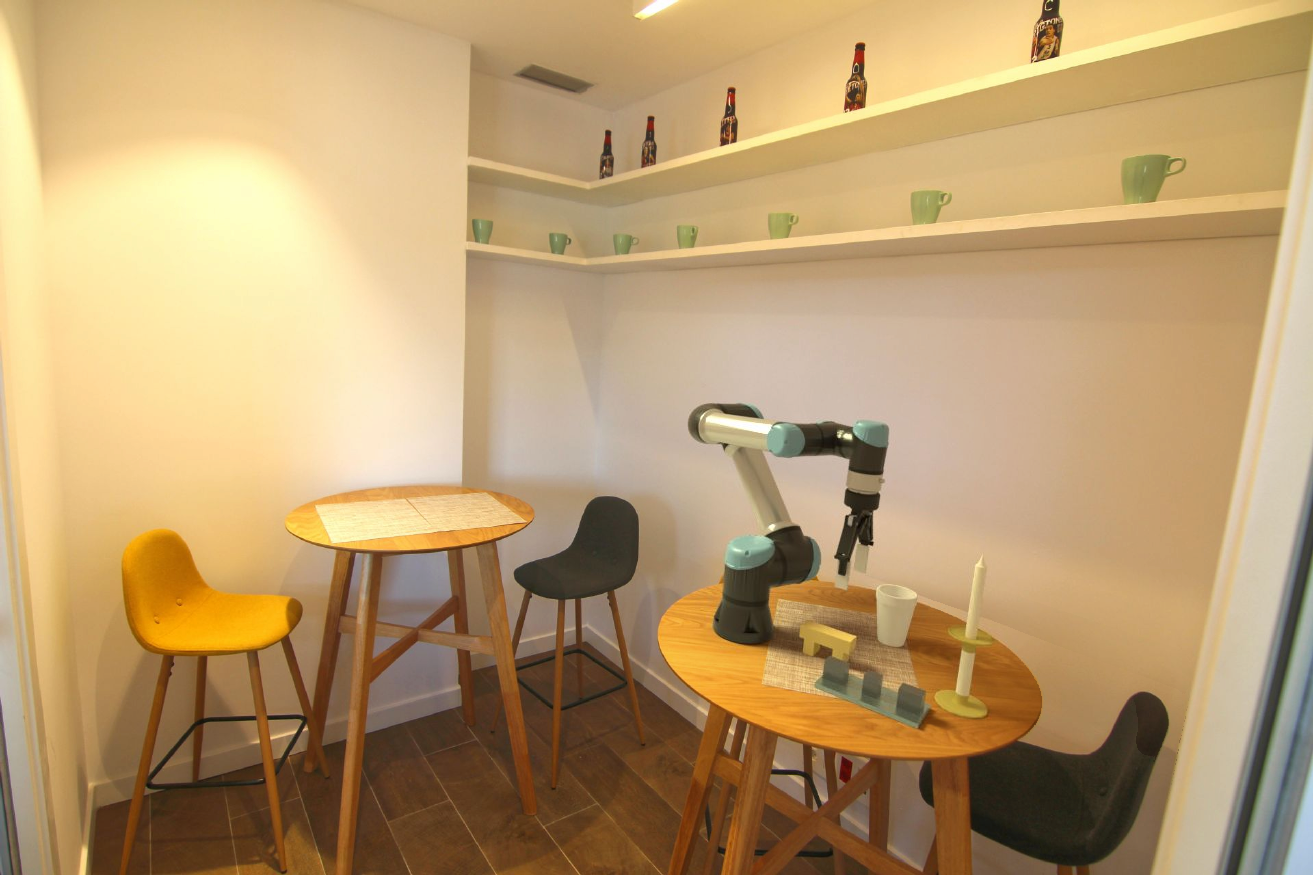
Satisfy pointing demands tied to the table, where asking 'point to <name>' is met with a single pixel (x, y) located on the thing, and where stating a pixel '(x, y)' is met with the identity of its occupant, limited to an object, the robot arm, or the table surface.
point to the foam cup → (894, 613)
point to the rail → (873, 693)
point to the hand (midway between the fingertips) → (850, 579)
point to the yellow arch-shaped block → (826, 640)
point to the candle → (968, 654)
